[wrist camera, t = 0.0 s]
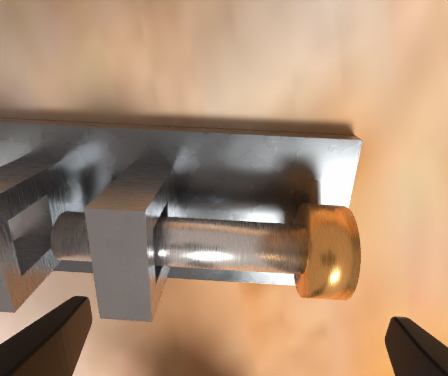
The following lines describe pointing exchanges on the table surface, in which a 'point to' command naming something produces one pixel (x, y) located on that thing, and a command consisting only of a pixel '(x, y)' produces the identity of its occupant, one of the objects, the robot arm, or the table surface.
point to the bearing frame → (150, 198)
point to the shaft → (247, 246)
